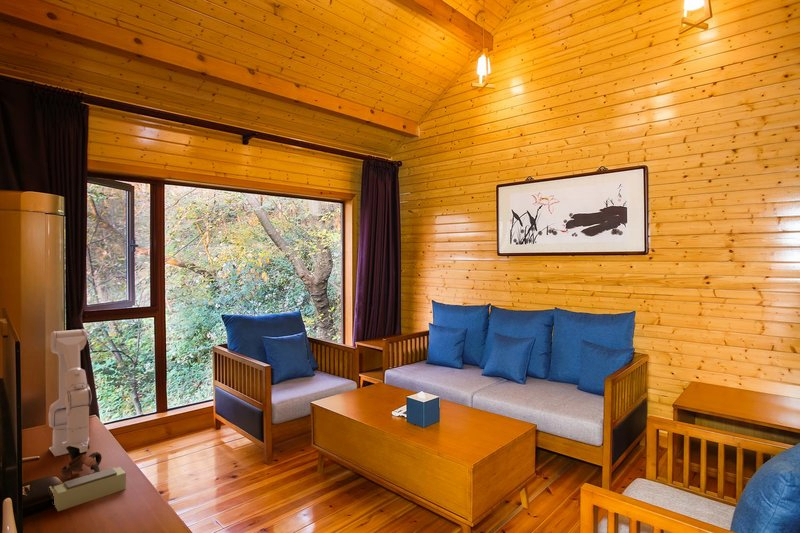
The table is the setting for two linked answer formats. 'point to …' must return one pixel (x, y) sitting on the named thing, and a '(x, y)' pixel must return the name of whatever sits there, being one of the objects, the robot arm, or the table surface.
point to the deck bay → (88, 488)
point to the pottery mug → (77, 464)
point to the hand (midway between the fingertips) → (77, 467)
